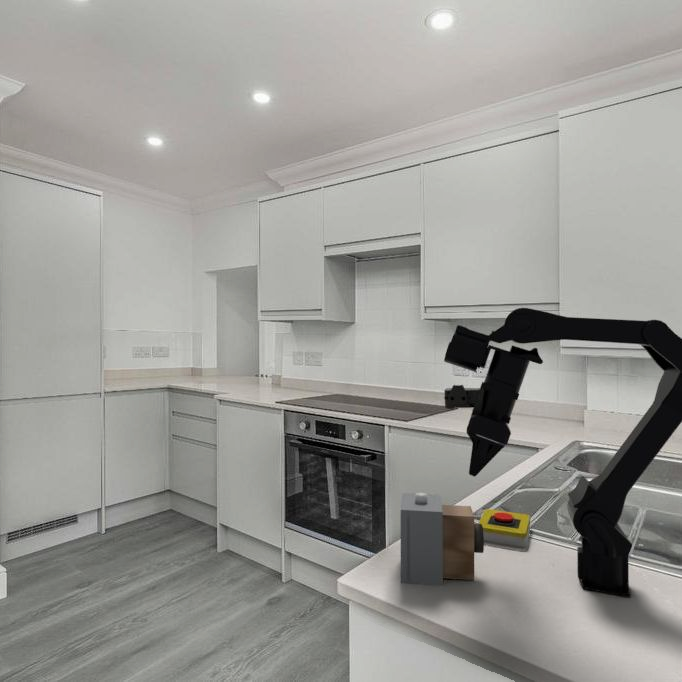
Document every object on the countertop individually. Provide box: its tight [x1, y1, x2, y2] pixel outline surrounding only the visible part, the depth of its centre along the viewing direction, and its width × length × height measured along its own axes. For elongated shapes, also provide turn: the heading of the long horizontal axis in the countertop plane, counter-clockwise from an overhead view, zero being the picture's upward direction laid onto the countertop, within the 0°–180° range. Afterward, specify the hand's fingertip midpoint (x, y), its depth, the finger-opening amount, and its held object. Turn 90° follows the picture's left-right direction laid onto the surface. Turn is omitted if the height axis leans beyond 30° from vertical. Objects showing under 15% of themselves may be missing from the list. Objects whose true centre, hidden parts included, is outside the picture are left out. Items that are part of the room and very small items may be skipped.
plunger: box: [441, 504, 485, 581], centre depth 78 cm, size 6×5×10 cm
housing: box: [400, 492, 444, 586], centre depth 80 cm, size 6×9×13 cm
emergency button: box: [477, 508, 532, 553], centre depth 95 cm, size 9×4×15 cm
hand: (473, 468), depth 81 cm, fingers open, 9 cm apart
